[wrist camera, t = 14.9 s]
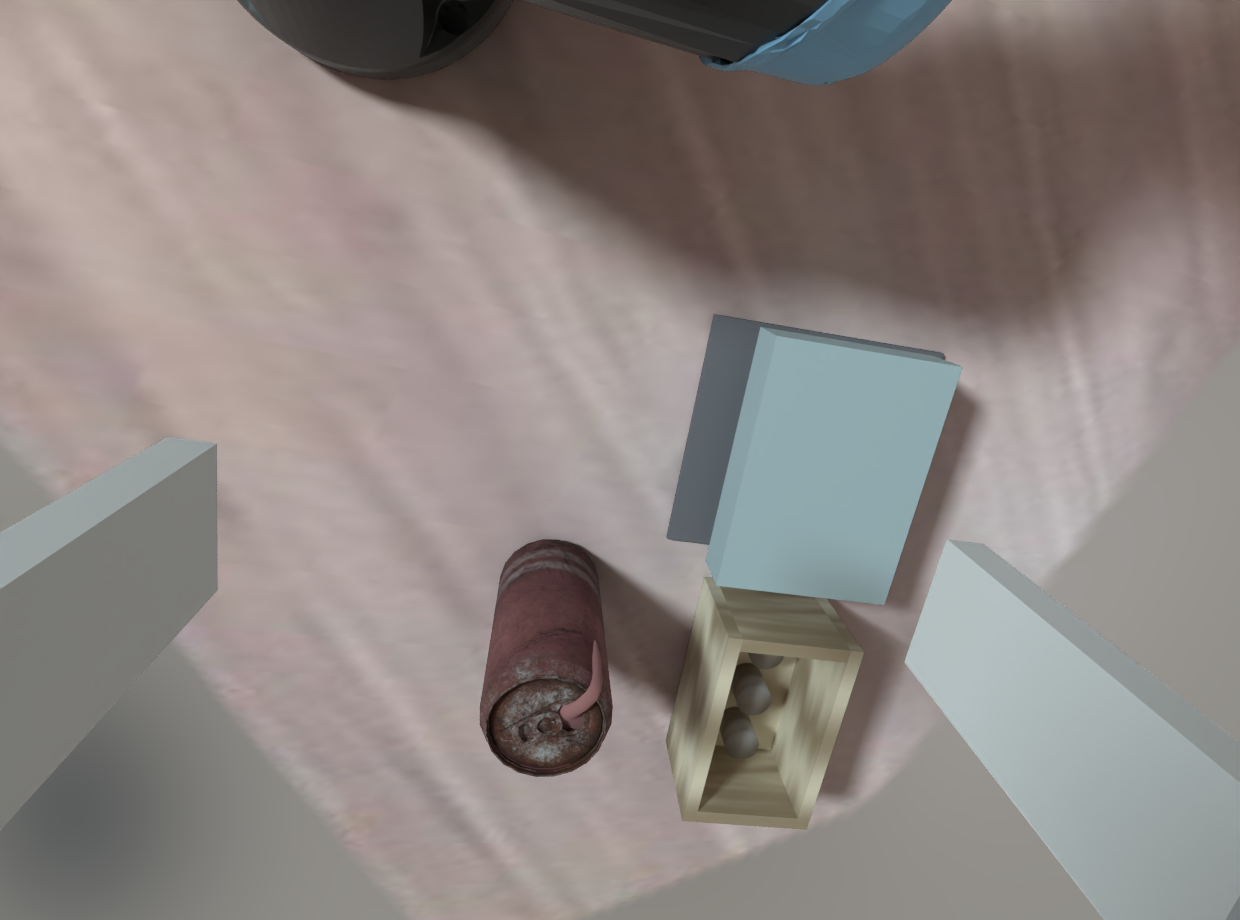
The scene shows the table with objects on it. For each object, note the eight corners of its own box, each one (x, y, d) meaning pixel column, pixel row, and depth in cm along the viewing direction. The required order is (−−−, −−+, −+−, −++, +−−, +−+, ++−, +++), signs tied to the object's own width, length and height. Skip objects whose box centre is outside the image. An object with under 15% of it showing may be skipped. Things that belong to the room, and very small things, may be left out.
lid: (748, 320, 40) (776, 335, 35) (911, 347, 42) (962, 366, 36) (697, 542, 44) (716, 585, 39) (847, 561, 46) (884, 605, 41)
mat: (713, 314, 40) (715, 315, 40) (940, 352, 42) (944, 353, 42) (666, 536, 45) (667, 539, 44) (874, 562, 46) (876, 565, 46)
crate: (704, 577, 46) (729, 637, 39) (821, 590, 47) (864, 652, 40) (665, 740, 50) (682, 820, 43) (774, 749, 51) (806, 829, 44)
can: (619, 568, 45) (645, 714, 32) (556, 637, 46) (556, 805, 33) (544, 514, 43) (539, 644, 30) (481, 586, 45) (449, 742, 31)
